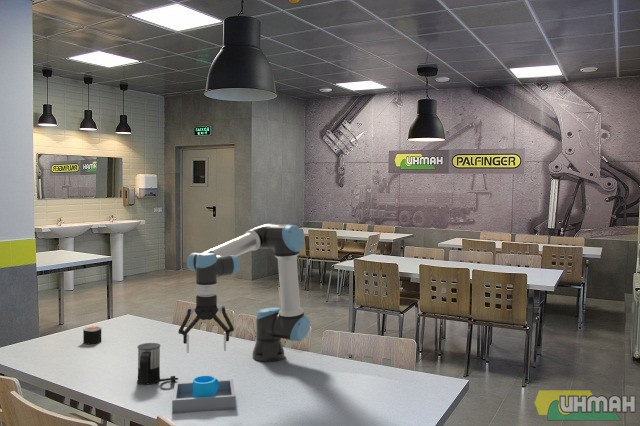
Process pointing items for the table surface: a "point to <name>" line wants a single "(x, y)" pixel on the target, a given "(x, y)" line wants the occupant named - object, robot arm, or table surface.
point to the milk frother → (150, 364)
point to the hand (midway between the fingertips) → (206, 350)
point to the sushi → (92, 335)
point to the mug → (205, 386)
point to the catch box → (203, 398)
